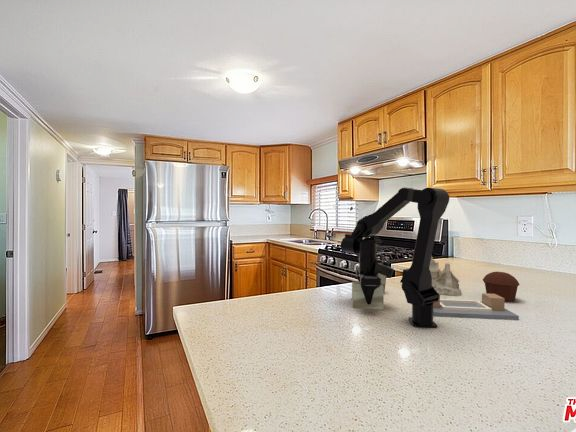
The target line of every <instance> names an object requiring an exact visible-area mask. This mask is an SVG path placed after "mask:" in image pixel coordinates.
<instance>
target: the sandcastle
mask: <svg viewBox="0 0 576 432" xmlns="http://www.w3.org/2000/svg"><path fill="white" fill-rule="evenodd" d="M433 258H434V257H433V256H431V261H430V266H429V269H430V273H431V276H432V286H433V288H434V289H435V290H436V291H437V292H438V294H439V295H440V296H447V297H460V296H462V290H461V288H460V284H459V283H460V280H459V279H458V277H456V276H455V274H454V273H453V272H452V271H451V263H449V262H445V263H444V268H443V269H441V268H440V265H439V262H437V261H436V260H435V259H433Z"/></svg>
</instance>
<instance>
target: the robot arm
mask: <svg viewBox="0 0 576 432" xmlns="http://www.w3.org/2000/svg"><path fill="white" fill-rule="evenodd" d="M410 203H414V204H415V203H416V204H417V211H418V213H419V218H420V219H419V224H418V228H417V229H418V230H417V235H416V239H415V245H414V246H415V247H414V250H413V256H412V262H411V266H410V267H409V268H404V269H402V272H401V273H402V274H401V276H402V277H401V280H400V281H399V282H400V284H401V290H402V291H403V293H404V296H405V299H406V303H408V304H411V317H408V321H409V322H410V323H411V325H412V326H413V327H420V328H421V327H422V328H439V327H438V324H437V323H436V322H435V320H434V316H433V303H434V302H438V300H439V298H440V299H441V295H439V294H438V292H437V291H436V290H435V289H434V288H433V286H432V276H431V273H430V269H429V266H430V261H431V257H433V256H432V255H433V250H434V245H435V241H436V235H437V230H438V226H439V220H441V218H442V216H443V215H444V214H445V213H446V211H447V208H448V204H449V203H450V194H449V193H448V191H446V190H445V189H443V188H439V187H438V188H437V187H435V188H434V187H426V188H423V189H415V188H412V187H402V188H400V189H398V191H397V192H396V194H394V195H393V196H392V197H391V198H390V199H388V200H387V201H386V202H385V203H384V204H382V205H381V206H380V207H379V208H378V209H377V210H376V211H374V212H373V213H371V214H369V215H366V216H363V217H362V218H360V219H358V220H357V222H356V226H355V227H354V228H353V231H352V232H351V233H345V234H344V237H343V238H342V240H341V242H340V249H341V251H342V252H344V253H349V254H356V255H357V254H358V267H357V268H356V271H355V275H356V278H357V282H360V285H361V288H362V291H363V293H364V296H365V299H366V302H367V304H371V302H372V298H373V294H374V290H375V289H376V288H378V287H380V285H381V279H380V278H379V277H378V276H377V275H378V273H379V274H382V275H385V276H386V278H389V279H391V278H392V276H393V274H394V271H395V269H394V268H393V267H391V266H389V263H388V262H386V261H384V260H383V261H381V262H379V260H378V258H377V244H381V243H383V241H382V240H381V238H380V237H378V234H379V232H380V231H382V229H383V228H384V225H385V224H386V222H387V221H388V220H389V219H391V218H392V217H393V216H394V215H396V214H397V213H398V212H400V211H401V210H402V209H404V208H405V207H406V206H407V205H408V204H410Z"/></svg>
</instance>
